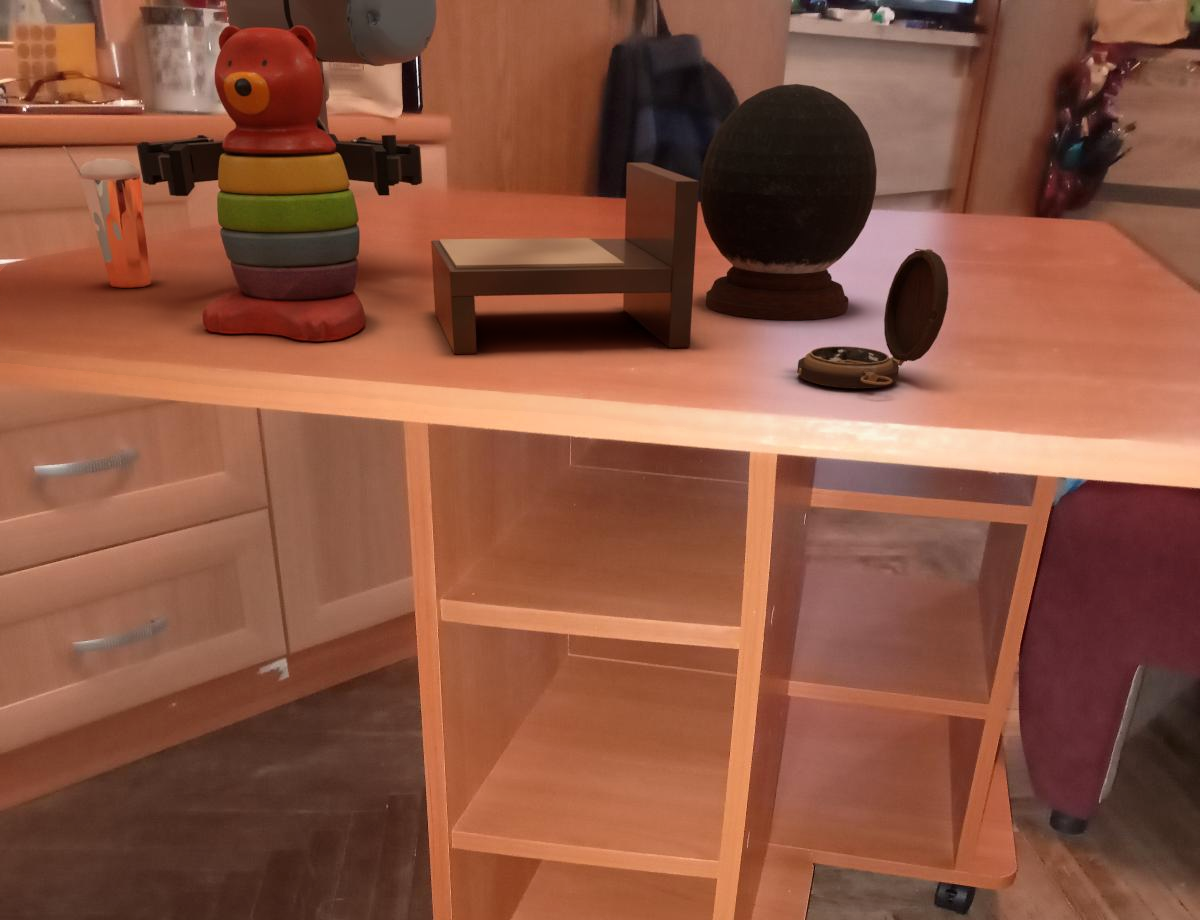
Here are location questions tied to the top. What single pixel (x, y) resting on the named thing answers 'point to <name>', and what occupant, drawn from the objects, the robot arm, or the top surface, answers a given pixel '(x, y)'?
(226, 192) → the stacking bear
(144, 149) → the robot arm
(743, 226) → the dark ball on base
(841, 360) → the compass
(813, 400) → the top surface
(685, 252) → the dollhouse bed
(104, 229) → the milkshake
